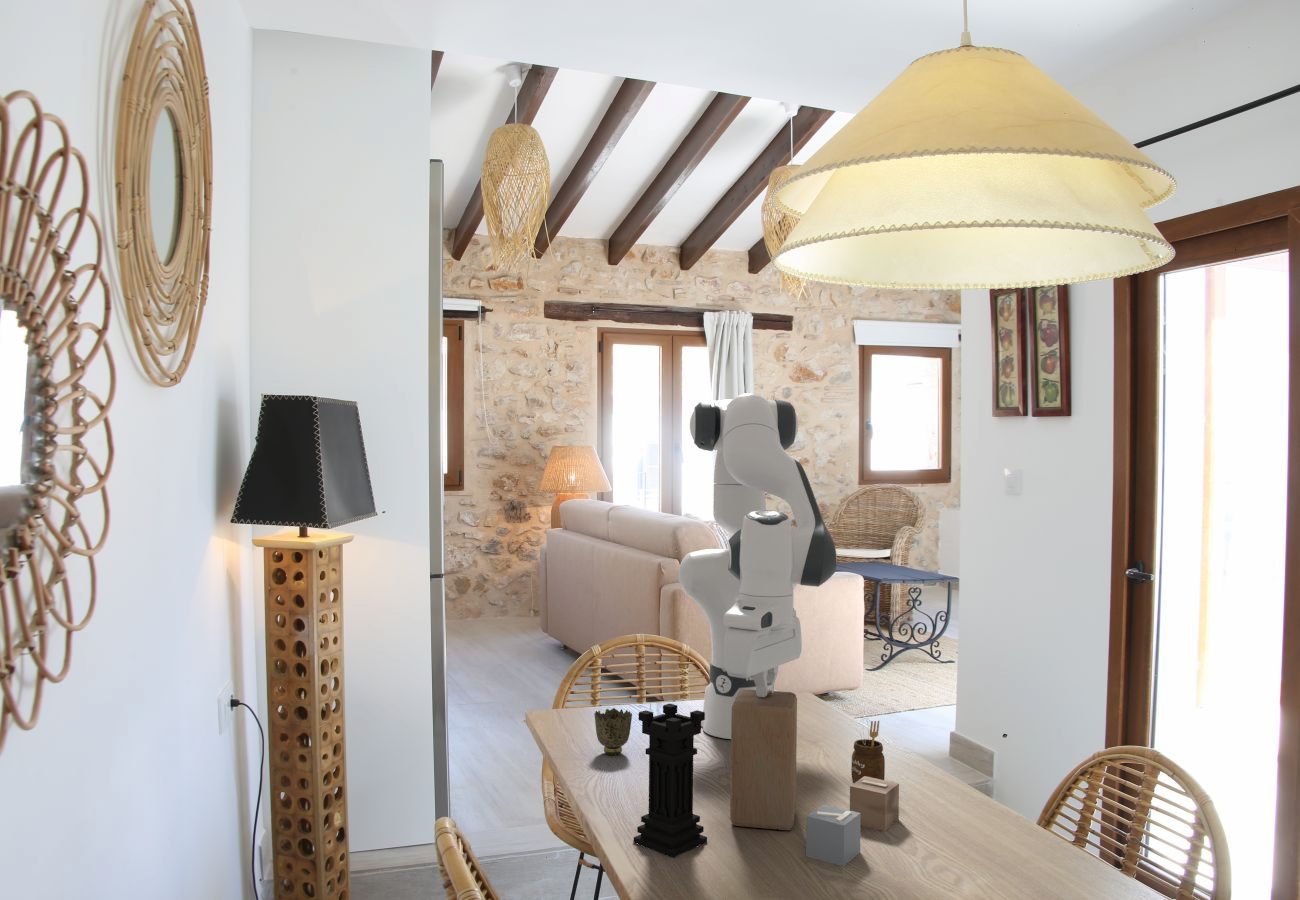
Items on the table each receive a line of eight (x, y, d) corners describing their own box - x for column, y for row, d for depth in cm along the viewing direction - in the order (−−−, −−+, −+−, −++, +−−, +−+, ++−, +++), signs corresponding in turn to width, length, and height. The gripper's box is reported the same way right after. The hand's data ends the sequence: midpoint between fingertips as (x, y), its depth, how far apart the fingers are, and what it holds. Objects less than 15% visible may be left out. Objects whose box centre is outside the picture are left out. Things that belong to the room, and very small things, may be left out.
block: (792, 833, 153) (794, 706, 153) (729, 827, 155) (730, 702, 155) (796, 810, 163) (797, 691, 163) (736, 805, 165) (737, 687, 165)
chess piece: (633, 842, 149) (634, 712, 149) (668, 827, 155) (669, 702, 155) (672, 858, 143) (674, 722, 143) (707, 842, 149) (708, 712, 149)
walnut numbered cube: (864, 811, 163) (864, 774, 163) (898, 819, 159) (899, 781, 159) (849, 822, 158) (850, 784, 158) (884, 831, 154) (885, 792, 154)
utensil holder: (876, 775, 181) (877, 710, 181) (890, 787, 174) (891, 720, 174) (846, 776, 180) (847, 711, 180) (859, 788, 173) (859, 721, 173)
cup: (619, 745, 197) (619, 706, 197) (638, 755, 191) (639, 714, 191) (587, 751, 193) (587, 711, 193) (606, 761, 187) (606, 720, 186)
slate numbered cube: (823, 843, 150) (823, 802, 150) (860, 852, 146) (860, 811, 146) (806, 856, 145) (806, 814, 145) (843, 866, 141) (844, 823, 141)
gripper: (778, 600, 169) (777, 680, 169) (717, 616, 152) (716, 705, 152) (811, 604, 165) (810, 685, 166) (753, 621, 149) (752, 711, 149)
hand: (765, 695), depth 159 cm, fingers closed
